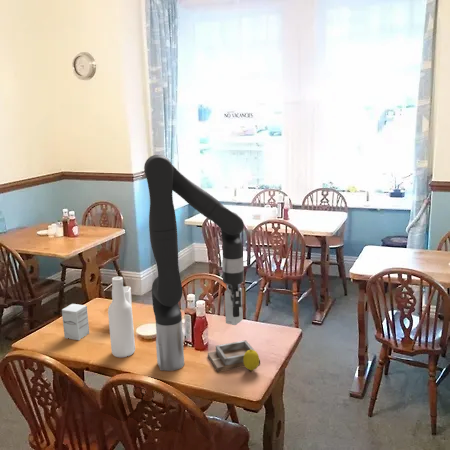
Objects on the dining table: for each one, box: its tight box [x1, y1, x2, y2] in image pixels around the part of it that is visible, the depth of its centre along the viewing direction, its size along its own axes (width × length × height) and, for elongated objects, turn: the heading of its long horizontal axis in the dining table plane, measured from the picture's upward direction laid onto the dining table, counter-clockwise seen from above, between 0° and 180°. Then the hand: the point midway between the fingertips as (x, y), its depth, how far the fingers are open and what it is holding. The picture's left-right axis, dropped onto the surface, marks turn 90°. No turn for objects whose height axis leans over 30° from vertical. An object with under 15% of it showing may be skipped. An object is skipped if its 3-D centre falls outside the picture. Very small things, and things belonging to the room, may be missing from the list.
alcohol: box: [107, 276, 136, 358], centre depth 194 cm, size 9×9×30 cm
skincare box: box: [224, 287, 244, 326], centre depth 186 cm, size 6×4×12 cm
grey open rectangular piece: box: [207, 340, 261, 373], centre depth 188 cm, size 16×12×4 cm
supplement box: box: [61, 303, 90, 341], centre depth 211 cm, size 7×7×13 cm
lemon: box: [243, 349, 260, 372], centre depth 180 cm, size 6×6×8 cm
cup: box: [111, 285, 133, 309], centre depth 223 cm, size 7×7×15 cm
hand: (233, 312), depth 187 cm, fingers closed on skincare box, 7 cm apart
